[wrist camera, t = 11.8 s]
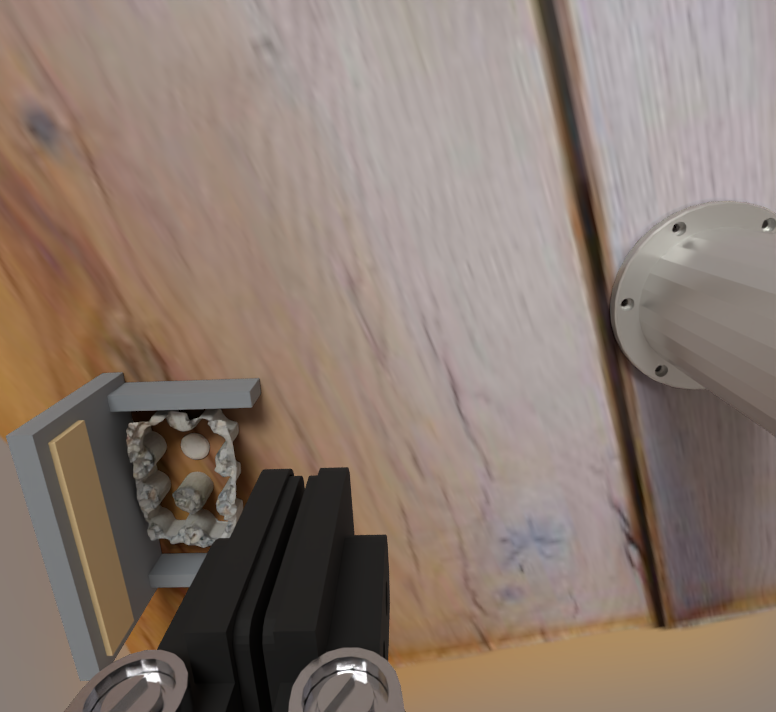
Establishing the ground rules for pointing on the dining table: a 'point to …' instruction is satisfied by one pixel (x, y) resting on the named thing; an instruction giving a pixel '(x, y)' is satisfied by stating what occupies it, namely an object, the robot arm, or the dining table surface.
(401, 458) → the dining table surface
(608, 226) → the dining table surface
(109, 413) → the display stand
